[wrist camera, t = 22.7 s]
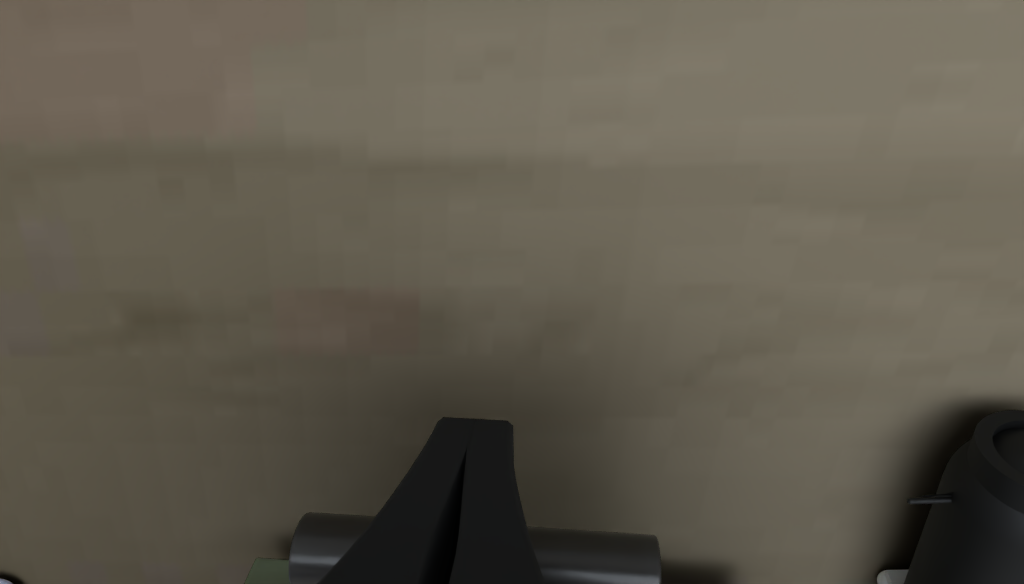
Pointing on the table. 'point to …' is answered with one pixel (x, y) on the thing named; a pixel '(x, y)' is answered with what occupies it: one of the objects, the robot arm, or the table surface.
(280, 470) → the table surface
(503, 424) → the robot arm
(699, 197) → the table surface
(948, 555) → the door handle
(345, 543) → the drawer
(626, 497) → the table surface
